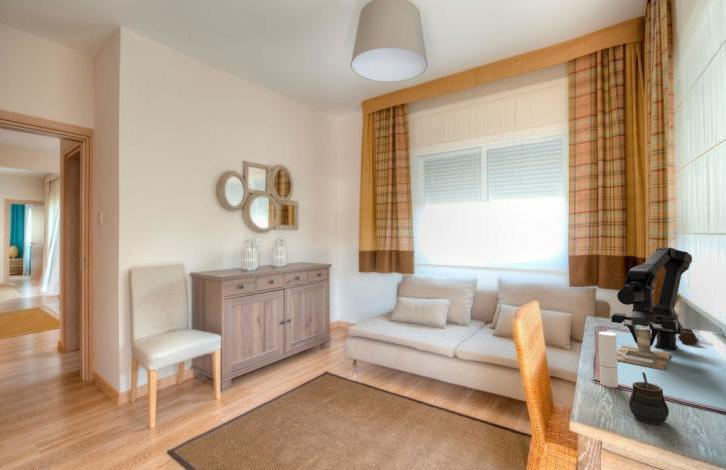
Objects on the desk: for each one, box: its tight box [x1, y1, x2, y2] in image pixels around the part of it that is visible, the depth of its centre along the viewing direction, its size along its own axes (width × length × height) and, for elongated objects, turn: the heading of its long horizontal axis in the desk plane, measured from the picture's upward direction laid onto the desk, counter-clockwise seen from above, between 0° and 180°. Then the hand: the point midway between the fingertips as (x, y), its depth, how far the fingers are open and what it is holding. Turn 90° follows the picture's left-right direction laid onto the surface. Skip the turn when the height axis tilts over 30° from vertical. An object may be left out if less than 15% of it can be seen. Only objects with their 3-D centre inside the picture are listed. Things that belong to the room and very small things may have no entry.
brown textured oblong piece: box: [677, 327, 699, 346], centre depth 143 cm, size 6×5×15 cm
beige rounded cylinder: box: [636, 327, 652, 353], centre depth 128 cm, size 4×4×8 cm
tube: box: [598, 331, 619, 388], centre depth 102 cm, size 4×4×15 cm
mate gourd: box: [628, 371, 670, 425], centre depth 83 cm, size 7×8×10 cm
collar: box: [622, 350, 656, 364], centre depth 121 cm, size 8×8×1 cm
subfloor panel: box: [617, 344, 672, 371], centre depth 124 cm, size 20×14×1 cm
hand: (643, 344), depth 128 cm, fingers closed on beige rounded cylinder, 4 cm apart
